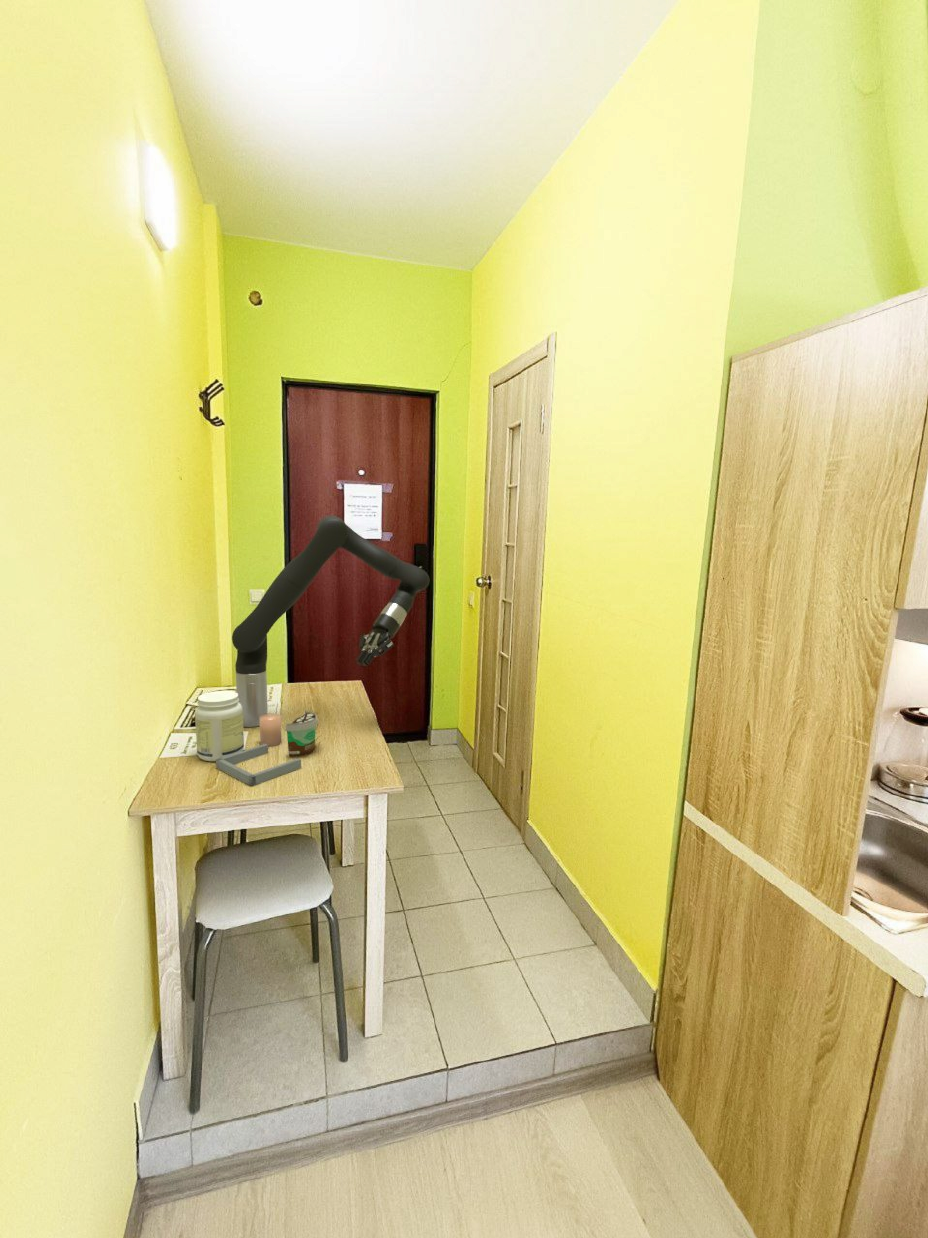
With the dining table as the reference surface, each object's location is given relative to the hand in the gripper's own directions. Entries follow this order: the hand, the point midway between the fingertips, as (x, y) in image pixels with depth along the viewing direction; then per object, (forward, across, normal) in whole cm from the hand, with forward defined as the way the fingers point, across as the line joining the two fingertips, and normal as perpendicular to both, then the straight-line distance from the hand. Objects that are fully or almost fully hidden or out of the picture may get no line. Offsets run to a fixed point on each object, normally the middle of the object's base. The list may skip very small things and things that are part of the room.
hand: (361, 663), depth 180 cm
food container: (+30, 0, +1) cm, 30 cm away
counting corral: (+41, 0, -10) cm, 43 cm away
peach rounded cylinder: (+32, -13, -1) cm, 35 cm away
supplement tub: (+42, -16, -11) cm, 47 cm away
